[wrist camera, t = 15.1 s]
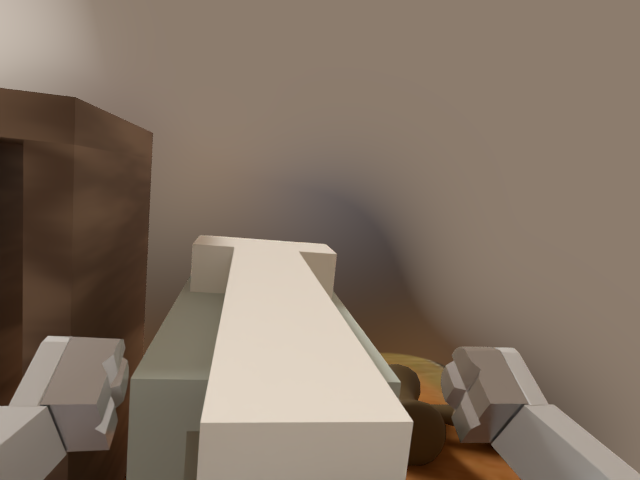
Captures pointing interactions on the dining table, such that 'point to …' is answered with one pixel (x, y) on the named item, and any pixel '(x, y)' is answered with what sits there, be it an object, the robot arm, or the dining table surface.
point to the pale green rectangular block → (188, 387)
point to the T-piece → (290, 372)
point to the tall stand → (72, 243)
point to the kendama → (422, 418)
